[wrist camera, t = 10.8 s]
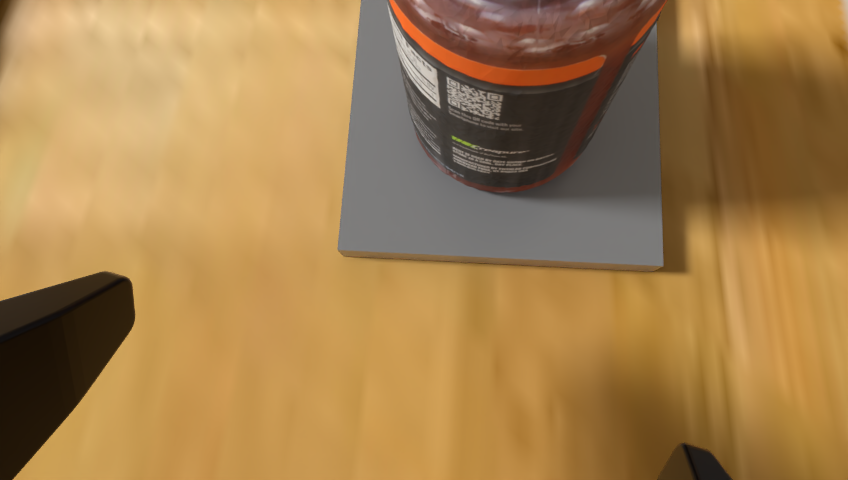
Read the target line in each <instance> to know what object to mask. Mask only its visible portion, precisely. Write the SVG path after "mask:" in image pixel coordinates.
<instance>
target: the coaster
mask: <svg viewBox="0 0 848 480" xmlns="http://www.w3.org/2000/svg"><path fill="white" fill-rule="evenodd" d="M338 251H339V252H340V253H341V254H342V255H343V256H351V257H371V258H391V259H411V260H431V261H450V262H470V263H490V264H510V265H530V266H550V267H570V268H590V269H610V270H630V271H650V272H653V271H655V270H657V269H659V268H661V267H663V231H662V196H661V161H660V126H659V91H658V56H657V22H656V24H655V25H654V27H653V28H652V30H651V32H650V34H649V36H648V38H647V39H646V41H645V43H644V44H643V46H642V48H641V50H640V51H639V53H638V55H637V57H636V59H635V61H634V62H633V64H632V66H631V68H630V70H629V71H628V73H627V75H626V78H625V79H624V81H623V83H622V84H621V86H620V88H619V90H618V92H617V93H616V95H615V97H614V99H613V101H612V102H611V104H610V106H609V108H608V110H607V111H606V113H605V115H604V117H603V119H602V121H601V123H600V124H599V126H598V128H597V130H596V132H595V134H594V136H593V138H592V139H591V141H590V142H589V144H588V145H587V147H586V149H585V150H584V151H583V152H582V154H581V155H580V157H579V158H578V159H577V160H576V161H575V162H574V164H573V165H572V166H570V167H569V168H568V169H567V170H565V171H564V172H563V173H561V174H560V175H559V176H557V177H556V178H554V179H552V180H550V181H549V182H547V183H545V184H542V185H540V186H537V187H534V188H532V189H528V190H524V191H519V192H511V193H508V192H504V193H498V192H490V191H484V190H478V189H476V188H472V187H469V186H466V185H464V184H463V183H461V182H459V181H457V180H455V179H453V178H452V177H450V176H449V175H447V174H445V173H444V172H442V171H441V170H440V169H439V168H438V167H437V166H436V165H435V164H434V163H433V162H432V161H431V159H430V158H429V157H428V156H427V154H426V152H425V151H424V149H423V148H422V146H421V144H420V143H419V141H418V139H417V136H416V132H415V130H414V126H413V123H412V120H411V117H410V113H409V108H408V102H407V97H406V92H405V87H404V82H403V77H402V73H401V67H400V62H399V58H398V53H397V48H396V43H395V38H394V33H393V28H392V23H391V19H390V14H389V9H388V4H387V0H361V7H360V18H359V29H358V39H357V50H356V60H355V71H354V81H353V92H352V103H351V113H350V124H349V134H348V145H347V156H346V166H345V177H344V187H343V198H342V208H341V219H340V230H339V240H338Z"/></svg>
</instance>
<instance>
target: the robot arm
mask: <svg viewBox="0 0 848 480" xmlns="http://www.w3.org/2000/svg"><path fill="white" fill-rule="evenodd" d="M134 321H135V308H134V298H133V287H132V283H131V281H130V279H129V278H127V277H125V276H122V275H119V274H115V273H112V272H107V271H104V272H99V273H96V274H93V275H89V276H86V277H82V278H79V279H75V280H72V281H68V282H65V283H61V284H58V285H54V286H51V287H47V288H44V289H40V290H37V291H34V292H30V293H27V294H23V295H20V296H16V297H13V298H9V299H6V300H2V301H0V480H13V479H14V478H15V476H16V475H17V474H18V473H19V472H20V471H21V469H22V468H23V467H24V466H25V465H26V464H27V463H28V461H29V460H30V459H31V458H32V457H33V456H34V455H35V453H36V452H37V451H38V450H39V449H40V448H41V447H42V445H43V444H44V443H45V442H46V441H47V440H48V439H49V437H50V436H51V435H52V434H53V433H54V432H55V431H56V429H57V428H58V427H59V426H60V425H61V424H62V423H63V421H64V420H65V419H66V418H67V417H68V416H69V414H70V413H71V412H72V411H73V410H74V408H75V407H76V406H77V405H78V403H79V402H80V401H81V399H82V398H83V397H84V396H85V394H86V393H87V391H88V390H89V389H90V387H91V386H92V384H93V383H94V382H95V380H96V379H97V377H98V376H99V375H100V373H101V372H102V370H103V369H104V368H105V366H106V365H107V363H108V362H109V360H110V359H111V358H112V356H113V355H114V353H115V352H116V351H117V349H118V348H119V346H120V345H121V344H122V342H123V341H124V339H125V338H126V337H127V335H128V334H129V332H130V331H131V329H132V327H133V324H134ZM657 480H732V478H731V477H730V476H729V474H728V473H727V472H726V471H725V469H724V468H723V467H722V465H721V464H720V463H719V461H718V460H717V459H716V458H715V456H714V455H713V454H712V453H711V452H710V451H709V450H707V449H704V448H701V447H698V446H694V445H691V444H688V443H680V444H679V445H677V447H676V448H675V449H674V451H673V453H672V454H671V456H670V458H669V459H668V461H667V463H666V465H665V466H664V468H663V470H662V471H661V473H660V475H659V477H658V479H657Z"/></svg>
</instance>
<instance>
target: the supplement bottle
mask: <svg viewBox="0 0 848 480" xmlns="http://www.w3.org/2000/svg"><path fill="white" fill-rule="evenodd" d="M666 2H667V0H387V4H388V9H389V14H390V19H391V23H392V28H393V33H394V38H395V43H396V48H397V53H398V58H399V62H400V67H401V73H402V77H403V82H404V87H405V92H406V97H407V102H408V108H409V113H410V117H411V120H412V123H413V126H414V130H415V132H416V136H417V139H418V141H419V143H420V144H421V146H422V148H423V149H424V151H425V152H426V154H427V156H428V157H429V158H430V159H431V161H432V162H433V163H434V164H435V165H436V166H437V167H438V168H439V169H440V170H441V171H442V172H444V173H445V174H447V175H449V176H450V177H452V178H453V179H455V180H457V181H459V182H461V183H463V184H464V185H466V186H469V187H472V188H476V189H478V190H484V191H490V192H498V193H504V192H508V193H511V192H519V191H524V190H528V189H532V188H534V187H537V186H540V185H542V184H545V183H547V182H549V181H550V180H552V179H554V178H556V177H557V176H559V175H560V174H561V173H563V172H564V171H565V170H567V169H568V168H569V167H570V166H572V165H573V164H574V162H575V161H576V160H577V159H578V158H579V157H580V155H581V154H582V152H583V151H584V150H585V149H586V147H587V145H588V144H589V142H590V141H591V139H592V138H593V136H594V134H595V132H596V130H597V128H598V126H599V124H600V123H601V121H602V119H603V117H604V115H605V113H606V111H607V110H608V108H609V106H610V104H611V102H612V101H613V99H614V97H615V95H616V93H617V92H618V90H619V88H620V86H621V84H622V83H623V81H624V79H625V78H626V75H627V73H628V71H629V70H630V68H631V66H632V64H633V62H634V61H635V59H636V57H637V55H638V53H639V51H640V50H641V48H642V46H643V44H644V43H645V41H646V39H647V38H648V36H649V34H650V32H651V30H652V28H653V27H654V25H655V24H656V22H657V21H658V18H659V15H660V13H661V10H662V8H663V7H664V5H665V3H666Z"/></svg>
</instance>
